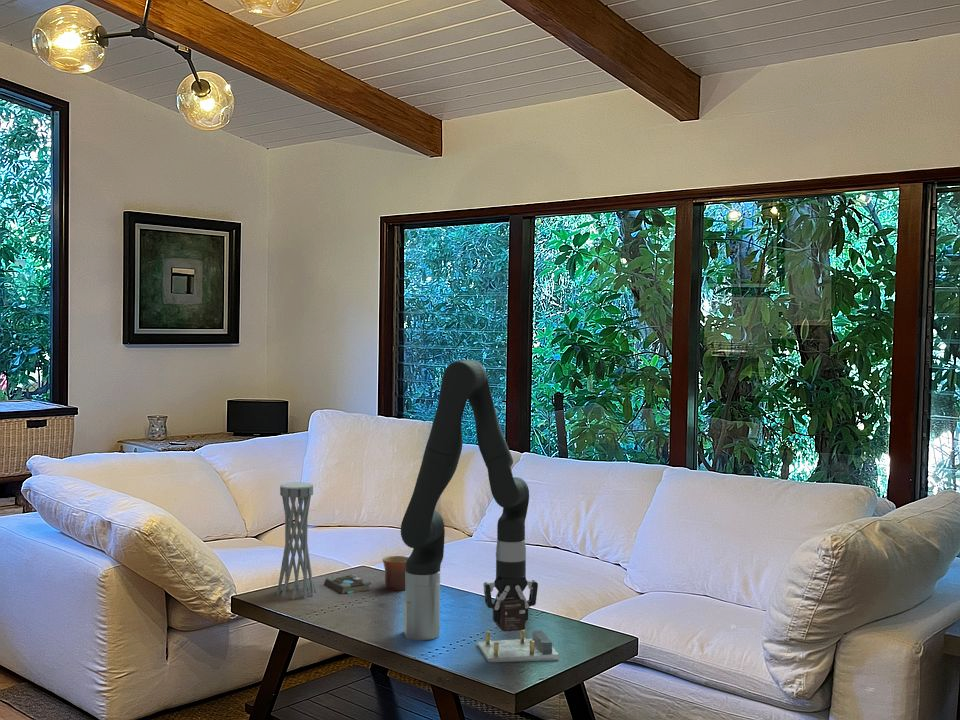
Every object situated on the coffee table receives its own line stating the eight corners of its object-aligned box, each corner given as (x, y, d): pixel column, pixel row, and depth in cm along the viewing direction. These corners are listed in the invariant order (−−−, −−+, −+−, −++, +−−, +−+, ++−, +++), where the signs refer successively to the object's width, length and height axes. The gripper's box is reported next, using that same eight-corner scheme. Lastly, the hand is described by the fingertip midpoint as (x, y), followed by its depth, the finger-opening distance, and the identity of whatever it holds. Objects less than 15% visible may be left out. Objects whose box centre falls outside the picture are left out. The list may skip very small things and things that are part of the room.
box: (502, 632, 241) (502, 603, 240) (495, 625, 246) (495, 596, 246) (525, 630, 242) (525, 601, 242) (518, 623, 248) (518, 595, 248)
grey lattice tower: (306, 608, 282) (307, 489, 281) (264, 604, 286) (265, 487, 285) (325, 596, 295) (326, 482, 294) (286, 592, 299) (286, 480, 298)
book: (384, 599, 295) (385, 582, 295) (349, 605, 288) (349, 588, 288) (355, 584, 311) (355, 569, 311) (320, 589, 304) (320, 574, 304)
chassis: (488, 664, 237) (488, 646, 237) (477, 647, 250) (477, 630, 249) (558, 660, 241) (558, 642, 240) (544, 643, 253) (544, 626, 253)
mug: (411, 594, 298) (412, 562, 298) (383, 596, 297) (383, 562, 296) (407, 584, 310) (407, 553, 310) (380, 585, 308) (380, 553, 308)
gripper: (486, 562, 239) (485, 629, 239) (542, 559, 242) (541, 625, 242) (480, 555, 246) (479, 620, 246) (534, 552, 249) (534, 617, 249)
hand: (510, 622), depth 244 cm, fingers closed on box, 6 cm apart
